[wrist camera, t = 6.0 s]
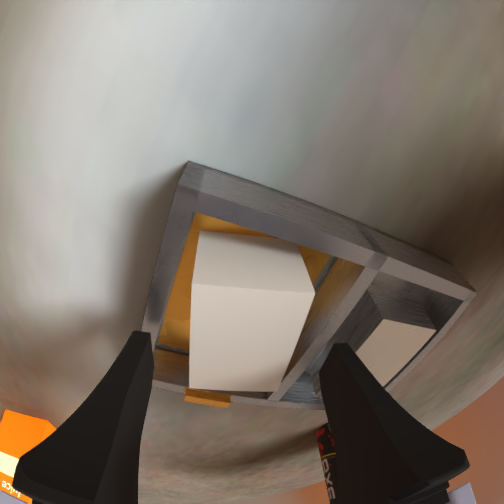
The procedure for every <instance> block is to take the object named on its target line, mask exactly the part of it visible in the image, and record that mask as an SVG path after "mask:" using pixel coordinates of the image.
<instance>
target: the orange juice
mask: <svg viewBox="0 0 504 504" xmlns="http://www.w3.org/2000/svg"><path fill="white" fill-rule="evenodd" d="M55 430H56V428H55V427H54V426H52V425H51V424H50V423H49V422H48V421H47V420H42V419H38V418H34V417H30V416H26V415H23V414H19V413H16V412H12V411H9V410H5V413H4V415H3V418H2V421H1V424H0V490H3V491H5V492H7V493H8V494H10V495H12V496H14V497H17V498H19V499H21V500H23V501H25V502H27V503H29V504H32V499H31V498H29V497H27V496H25V495H23V494H22V493H20V492H18V491H16V490H15V489H13V487H12V482H13V477H14V473H15V469H16V465H17V463H18V461H19V458H20V457H21V456H22V455H23V454H25V453H26V452H28V451H29V450H31V449H32V448H34V447H35V446H36V445H38V444H39V443H40V442H42V441H43V440H44V439H46V438H47V437H48V436H49V435H50V434H51V433H53V432H54V431H55Z"/></svg>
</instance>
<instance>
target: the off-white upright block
mask: <svg viewBox="0 0 504 504" xmlns="http://www.w3.org/2000/svg"><path fill="white" fill-rule="evenodd" d="M314 296H315V290H314V288H313V285H312V282H311V280H310V277H309V274H308V272H307V269H306V266H305V264H304V261H303V258H302V256H301V253H300V251H299V248H298V245H297V244H296V243H293V242H290V241H287V240H283V239H280V238H270V237H261V236H251V235H241V234H231V233H221V232H211V231H201V230H200V233H199V239H198V245H197V252H196V258H195V265H194V272H193V279H192V291H191V316H190V355H189V388H195V389H209V390H226V391H260V392H277V391H278V388H279V386H280V384H281V381H282V379H283V376H284V374H285V372H286V369H287V367H288V364H289V362H290V359H291V357H292V354H293V352H294V349H295V347H296V344H297V341H298V339H299V336H300V334H301V331H302V328H303V326H304V323H305V320H306V318H307V315H308V312H309V310H310V307H311V304H312V301H313V299H314Z"/></svg>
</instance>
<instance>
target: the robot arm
mask: <svg viewBox="0 0 504 504" xmlns="http://www.w3.org/2000/svg"><path fill="white" fill-rule="evenodd" d="M153 371H154V359H153V351H152V342H151V333H150V332H142V331H134V332H132V334H131V336H130V338H129V339H128V341H127V343H126V345H125V346H124V348H123V349H122V351H121V353H120V354H119V356H118V357H117V359H116V360H115V362H114V363H113V365H112V366H111V368H110V369H109V370H108V372H107V373H106V375H105V376H104V377H103V379H102V380H101V381H100V383H99V384H98V385H97V387H96V388H95V389H94V390H93V392H92V393H91V394H90V395H89V397H88V398H87V399H86V400H85V401H84V402H83V403H82V405H81V406H80V407H79V408H78V409H77V410H76V411H75V412H74V413H73V414H72V415H71V416H70V417H69V418H68V419H67V420H66V421H65V422H64V423H63V424H62V425H61V426H60V427H59V428H57V429H56V430H55V431H54V432H53V433H51V434H50V435H49V436H48V437H47V438H46V439H44V440H43V441H42V442H40V443H39V444H38V445H36V446H35V447H34V448H32V449H31V450H29V451H28V452H26V453H25V454H23V455H22V456H21V457H20V458H19V461H18V463H17V465H16V469H15V473H14V477H13V482H12V487H13V489H15V490H16V491H18V492H20V493H22V494H23V495H25V496H27V497H29V498H31V499H32V504H138V469H139V453H140V442H141V435H142V430H143V425H144V420H145V416H146V411H147V407H148V402H149V397H150V393H151V388H152V380H153ZM319 379H320V387H321V394H322V398H323V402H324V406H325V410H326V414H327V417H328V421H329V425H330V429H331V432H332V436H333V441H334V446H335V453H336V461H337V472H338V488H339V504H477V503H476V500H475V497H474V494H473V491H472V488H471V485H470V483H469V482H467V483H466V484H464V485H462V486H460V487H458V488H456V489H454V490H452V491H450V492H448V493H447V491H446V489H447V488H448V487H449V483H448V481H449V480H451V479H452V478H454V477H456V476H457V475H459V474H461V473H462V472H464V471H465V470H467V469H468V468H469V466H470V464H469V461H468V459H467V456H466V454H465V451H464V450H463V449H461V448H459V447H457V446H455V445H453V444H451V443H449V442H447V441H445V440H444V439H442V438H441V437H439V436H438V435H436V434H434V433H433V432H432V431H430V430H429V429H427V428H426V427H425V426H423V425H422V424H421V423H420V422H418V421H417V420H416V419H415V418H413V417H412V416H411V415H410V414H409V413H408V412H407V411H406V410H405V409H403V408H402V407H401V406H400V405H399V404H398V403H397V402H396V401H395V400H394V399H393V398H392V396H391V395H390V394H389V393H388V392H387V391H386V390H385V389H384V388H383V387H382V385H381V384H380V383H379V382H378V381H377V379H376V378H375V377H374V376H373V375H372V373H371V372H370V371H369V370H368V368H367V367H366V366H365V365H364V363H363V362H362V361H361V360H360V358H359V357H358V356H357V354H356V353H355V352H354V351H353V349H352V348H351V347H350V346H349V344H348V343H334V344H333V346H332V348H331V350H330V352H329V354H328V356H327V358H326V360H325V362H324V364H323V366H322V367H321V369H320V371H319ZM0 504H29V503H27V502H25V501H23V500H21V499H19V498H17V497H14V496H12V495H10V494H8V493H7V492H5V491H3V490H0Z"/></svg>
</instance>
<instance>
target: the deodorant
mask: <svg viewBox="0 0 504 504" xmlns="http://www.w3.org/2000/svg"><path fill="white" fill-rule="evenodd" d="M316 438H317V442H318V447H319V452H320V457H321V461H322V466H323V471H324V476H325V481H326V486H327V490H328V496H329V500H330V504H339V488H338V472H337V461H336V453H335V446H334V441H333V436H332V432H331V429H330V425H329V423H327V424H326V425H324V426H322V427H321V428H320V429H319V430H318V431H317V432H316Z"/></svg>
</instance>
